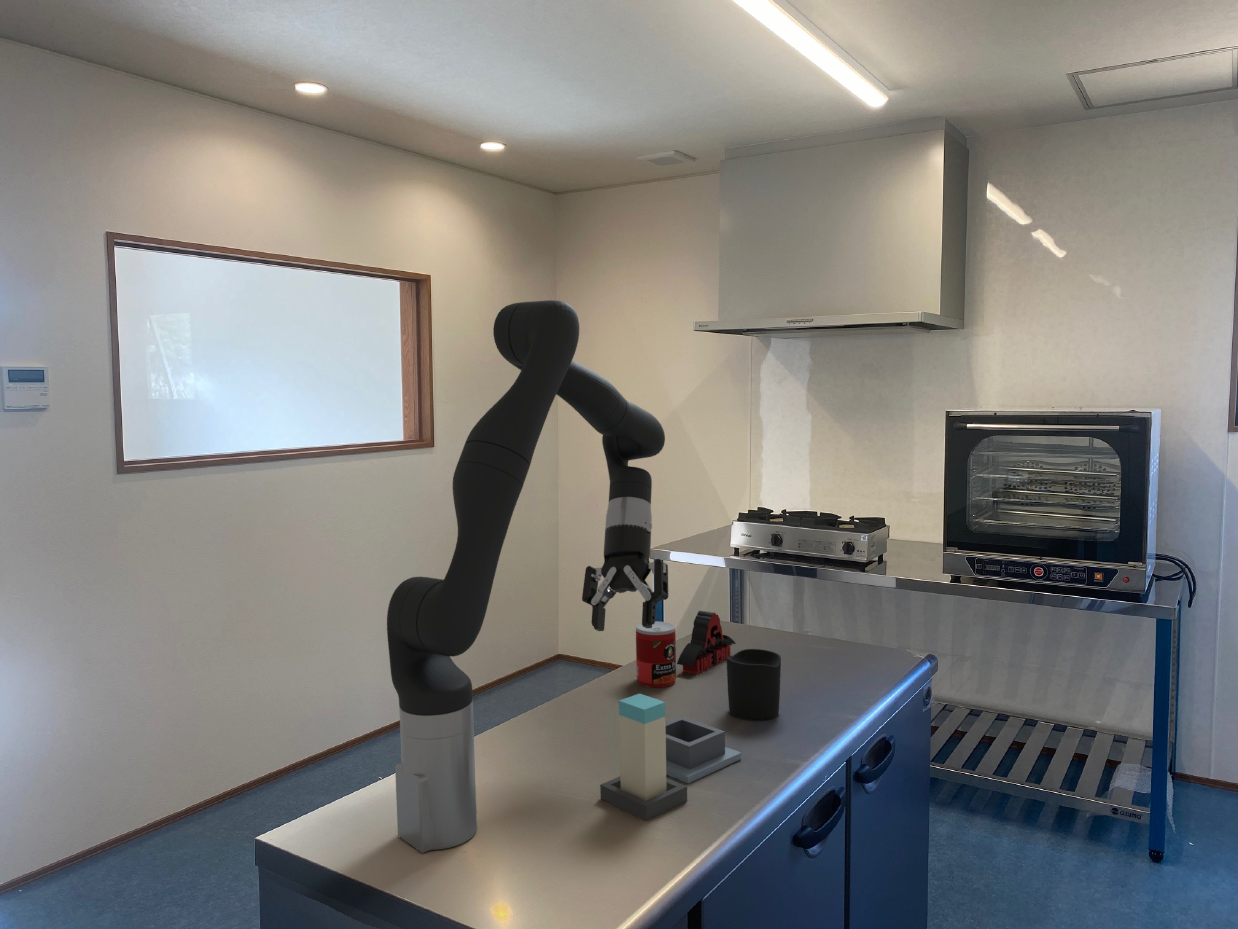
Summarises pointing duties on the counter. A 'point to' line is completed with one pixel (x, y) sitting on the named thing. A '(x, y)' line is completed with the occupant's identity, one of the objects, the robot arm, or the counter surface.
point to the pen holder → (754, 684)
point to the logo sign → (705, 644)
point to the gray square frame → (639, 806)
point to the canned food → (656, 654)
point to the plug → (642, 746)
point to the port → (695, 750)
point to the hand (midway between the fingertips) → (622, 628)
